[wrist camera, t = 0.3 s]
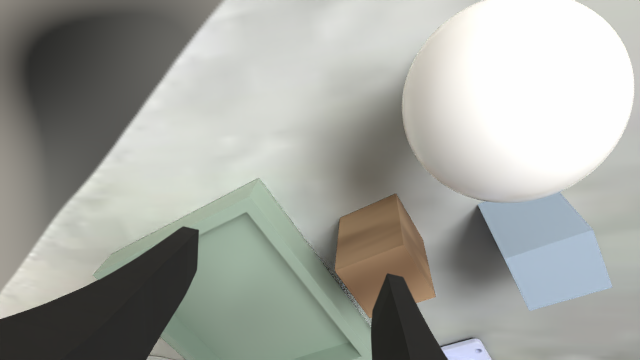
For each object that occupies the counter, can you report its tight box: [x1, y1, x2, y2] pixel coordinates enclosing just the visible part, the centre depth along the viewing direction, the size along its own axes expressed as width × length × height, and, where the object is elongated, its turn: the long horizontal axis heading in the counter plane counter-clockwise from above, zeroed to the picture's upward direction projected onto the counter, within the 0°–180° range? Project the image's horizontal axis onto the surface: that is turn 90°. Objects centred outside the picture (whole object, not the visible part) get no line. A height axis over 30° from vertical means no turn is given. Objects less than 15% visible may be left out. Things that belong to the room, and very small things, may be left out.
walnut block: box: [335, 194, 436, 318], centre depth 22 cm, size 4×4×5 cm
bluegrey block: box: [478, 192, 612, 311], centre depth 21 cm, size 4×4×5 cm
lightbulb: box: [402, 0, 634, 203], centre depth 14 cm, size 6×6×11 cm
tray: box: [93, 178, 372, 360], centre depth 28 cm, size 16×14×2 cm
